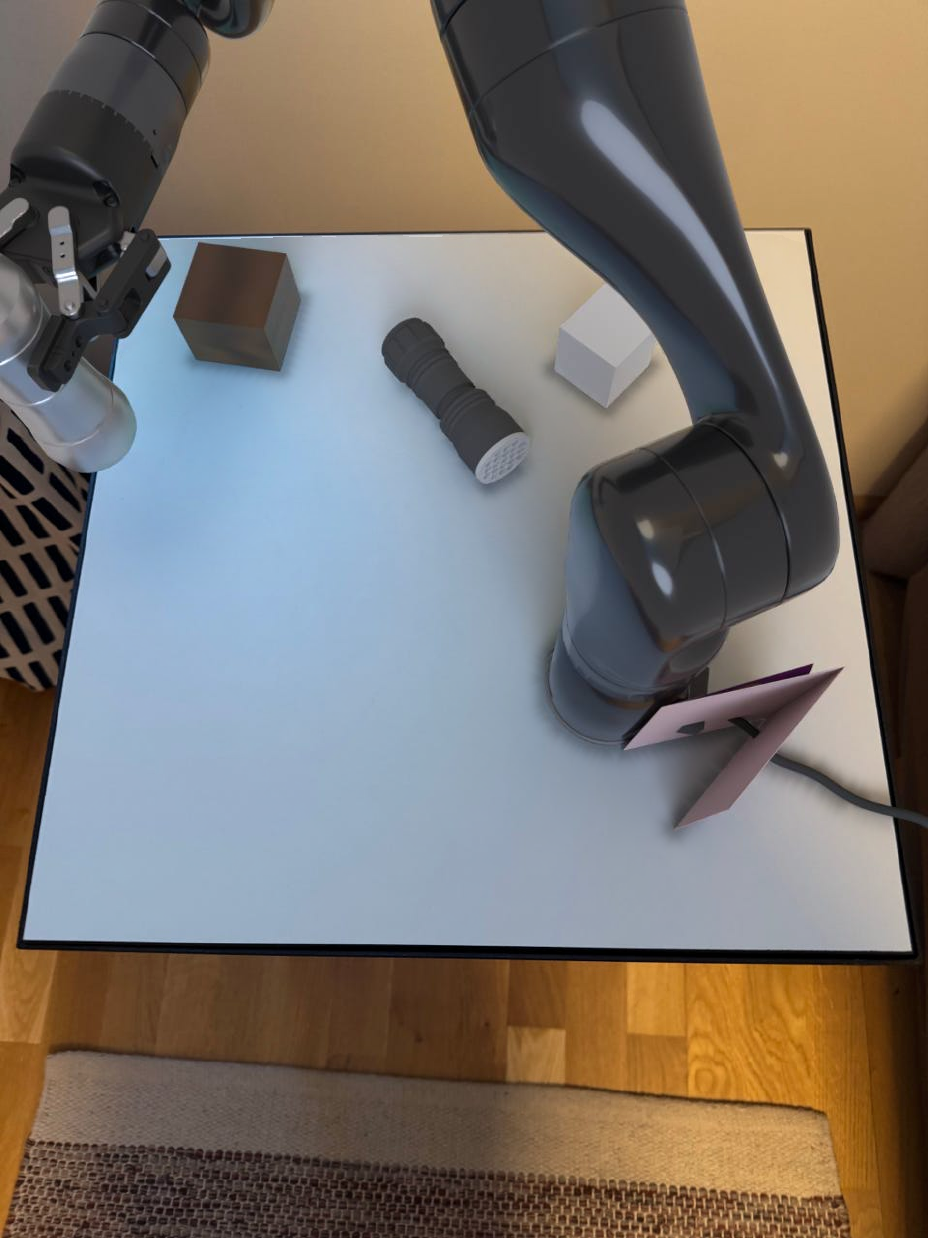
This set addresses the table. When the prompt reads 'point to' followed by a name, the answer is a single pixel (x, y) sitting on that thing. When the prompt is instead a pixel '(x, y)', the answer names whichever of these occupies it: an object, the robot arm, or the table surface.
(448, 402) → the flashlight
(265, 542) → the table surface
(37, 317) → the silver metal bottle
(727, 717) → the greeting card
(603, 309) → the white cube
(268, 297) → the block
